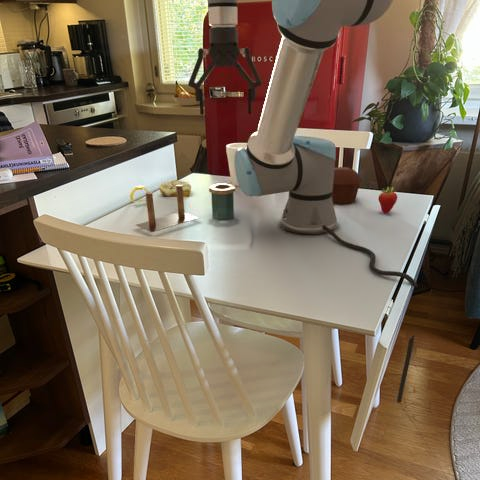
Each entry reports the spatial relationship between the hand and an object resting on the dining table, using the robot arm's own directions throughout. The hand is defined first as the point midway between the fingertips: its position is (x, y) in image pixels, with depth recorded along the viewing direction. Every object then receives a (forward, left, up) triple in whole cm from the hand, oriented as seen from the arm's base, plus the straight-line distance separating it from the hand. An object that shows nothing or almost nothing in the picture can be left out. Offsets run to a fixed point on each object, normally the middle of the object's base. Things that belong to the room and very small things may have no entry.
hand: (225, 113), depth 137 cm
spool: (-9, +12, -27) cm, 31 cm away
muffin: (-25, -26, -27) cm, 45 cm away
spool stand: (+1, +25, -27) cm, 37 cm away
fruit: (-42, -23, -27) cm, 55 cm away
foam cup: (+14, -22, -27) cm, 37 cm away
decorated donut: (+22, +2, -27) cm, 35 cm away
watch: (+22, +17, -27) cm, 39 cm away
